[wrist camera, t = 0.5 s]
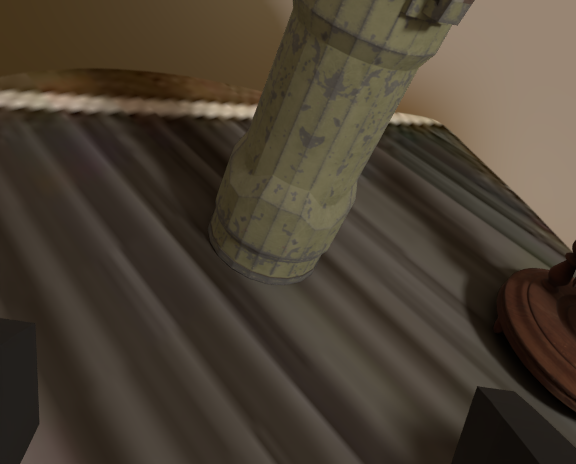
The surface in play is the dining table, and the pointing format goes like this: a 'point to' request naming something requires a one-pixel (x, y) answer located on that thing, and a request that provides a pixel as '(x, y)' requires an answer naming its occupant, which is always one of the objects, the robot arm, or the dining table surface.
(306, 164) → the grey-green tall column
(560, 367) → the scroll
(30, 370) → the robot arm
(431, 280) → the dining table surface
